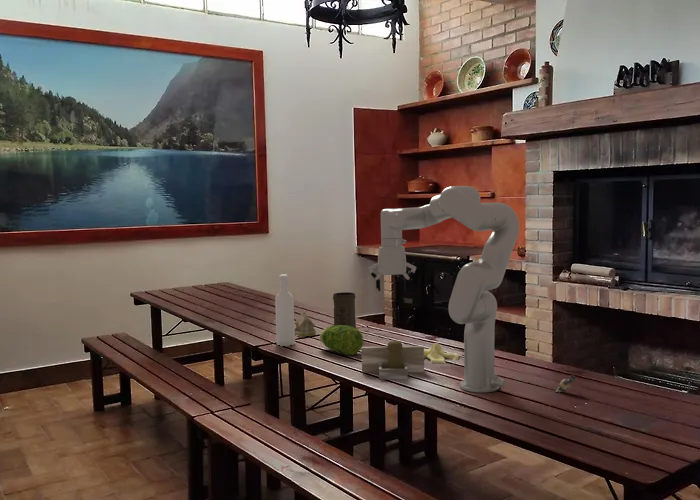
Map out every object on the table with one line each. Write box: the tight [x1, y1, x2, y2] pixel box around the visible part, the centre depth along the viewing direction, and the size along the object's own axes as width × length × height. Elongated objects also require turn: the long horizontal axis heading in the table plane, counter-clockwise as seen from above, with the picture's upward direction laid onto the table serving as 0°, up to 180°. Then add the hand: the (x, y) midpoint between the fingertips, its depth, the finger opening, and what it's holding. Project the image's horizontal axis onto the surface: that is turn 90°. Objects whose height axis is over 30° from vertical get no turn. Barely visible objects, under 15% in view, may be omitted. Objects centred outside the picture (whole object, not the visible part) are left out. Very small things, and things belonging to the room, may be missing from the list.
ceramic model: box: [294, 311, 317, 338], centre depth 296 cm, size 14×11×10 cm
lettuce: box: [319, 324, 364, 357], centre depth 260 cm, size 12×21×11 cm, turn 43°
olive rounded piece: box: [386, 340, 403, 369], centre depth 224 cm, size 6×6×11 cm
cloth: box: [424, 342, 460, 365], centre depth 248 cm, size 22×19×6 cm
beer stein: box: [332, 291, 357, 328], centre depth 289 cm, size 15×11×20 cm
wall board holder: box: [361, 345, 425, 380], centre depth 224 cm, size 10×22×9 cm, turn 87°
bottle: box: [274, 273, 296, 347], centre depth 274 cm, size 8×8×30 cm
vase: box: [555, 374, 577, 392], centre depth 200 cm, size 5×5×6 cm
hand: (392, 290), depth 233 cm, fingers open, 9 cm apart
